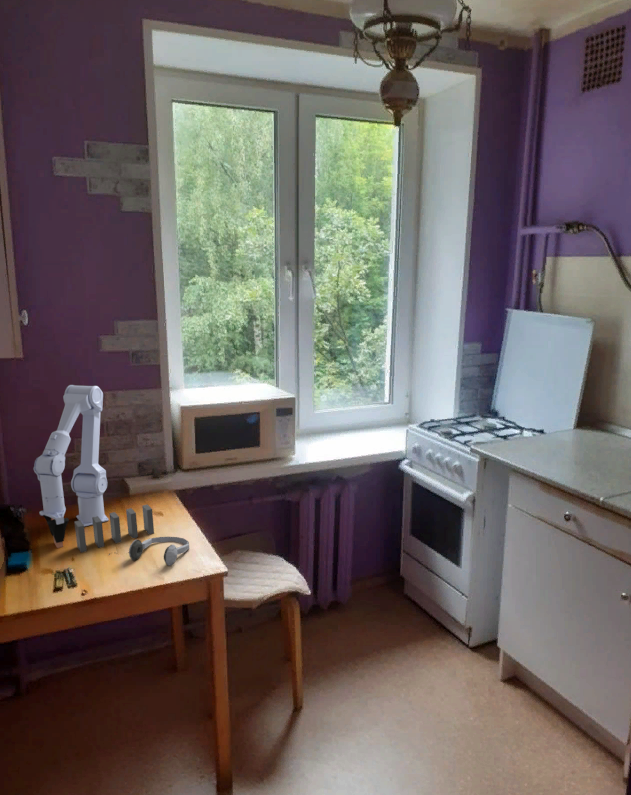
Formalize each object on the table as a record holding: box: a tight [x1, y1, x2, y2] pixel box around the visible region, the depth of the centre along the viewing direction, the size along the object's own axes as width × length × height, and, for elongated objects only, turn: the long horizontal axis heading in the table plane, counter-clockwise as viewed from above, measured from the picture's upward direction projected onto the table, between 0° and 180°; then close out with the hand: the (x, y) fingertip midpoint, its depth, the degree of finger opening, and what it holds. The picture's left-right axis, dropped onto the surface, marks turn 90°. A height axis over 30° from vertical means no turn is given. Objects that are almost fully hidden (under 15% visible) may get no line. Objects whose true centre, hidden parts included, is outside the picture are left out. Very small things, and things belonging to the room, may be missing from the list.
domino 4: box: [109, 511, 122, 544], centre depth 181 cm, size 4×2×8 cm, turn 34°
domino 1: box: [51, 518, 64, 549], centre depth 178 cm, size 4×2×8 cm, turn 34°
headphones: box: [107, 536, 190, 567], centre depth 171 cm, size 17×6×20 cm
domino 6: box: [141, 504, 155, 535], centre depth 186 cm, size 4×2×8 cm, turn 34°
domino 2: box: [74, 520, 88, 553], centre depth 175 cm, size 4×2×8 cm, turn 34°
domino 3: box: [92, 516, 105, 549], centre depth 178 cm, size 4×2×8 cm, turn 34°
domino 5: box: [125, 507, 139, 539], centre depth 183 cm, size 4×2×8 cm, turn 34°
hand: (57, 538), depth 179 cm, fingers open, 5 cm apart
